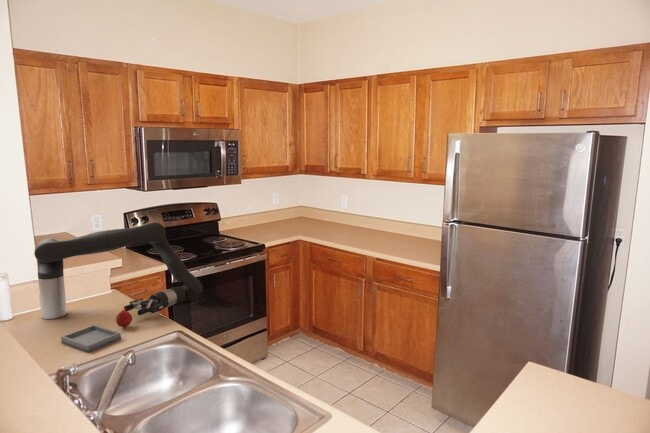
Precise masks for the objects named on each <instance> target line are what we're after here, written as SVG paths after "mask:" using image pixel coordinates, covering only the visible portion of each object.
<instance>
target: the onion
mask: <svg viewBox="0 0 650 433" xmlns="http://www.w3.org/2000/svg"><path fill="white" fill-rule="evenodd" d="M132 321H133V316H132V314H131V313H130V312H129V311H126V309H124V308H123V309H122V310H121V311H120V312H119V313H118V314H117V315H116V317H115V322H116V325H117V326H118V327H121V328H122V329H126V328H127V327H129V325H131V323H132Z"/></svg>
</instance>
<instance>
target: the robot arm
mask: <svg viewBox="0 0 650 433" xmlns="http://www.w3.org/2000/svg"><path fill="white" fill-rule="evenodd" d="M144 243H149V244H150V245H151V246H152V247H153V248H154V249H155V251H156V252H157V253H158V255H159V256H160V257H161V259H162V261H163V262H164V264H165V266H166V267H167V269H168V271H169V272H170V274H171V275H172V276H173V279H174V280H175V282H179V283H180V282H182V283H184V284H183V285H180V286H175V287H172V288H168V289H164V290H161V291H158V292H155V293H152V294H151V295H149V298H146V299H143V298H137V299H134V300H131V301H129V304H127V305H124V306H123V309H126V311H127V312H129V311H131V310H135V309H137V315H138V316H142V315H145V314H155V313H157V312H160V311H162V310H164V309H167V308H169V307H171V306H174V305H176V304H178V303H181V302H182V301H186V300H189V299H192V298H194V297H196V296H197V295H200V294H201V293H202V291H203V285H202V283H201V281H200V280H199V279H198V278H197V277H196V276H195V275H194V274H193V273H192V272H190V271H189V269H188V268H187V266H186V265H185V263H184V262H183V261H182V259H181V258H180V256H179V255H178V254H177V253H176V252H175V250H174V249H173V248H172V246H171V245H170V243H169V241H168V239H167V237H166V228H165V226H163V225H162V224H161V223H159V222H149V223H147V224H142V225H138V226H136V227H129V228H128V227H127V228H115V229H108V230H107V229H106V230H100V231H95V232H90V233H88V234H85V235H82V236H79V237H76V238H75V237H74V238H71V239H66V240H57V239H55V238H52V237H51V238H44V239H42V240H40V241H39V242H38V244H37V245H36V247H35V248H34V253H33V254H34V257H35V259H36V260H37V279H38V280H37V281H38V290H39V295H38V296H39V304H40V316H41V318H42V319H44V320H52V319H53V320H55V319H58V318H62V317H65V316H66V315H67V314H68V310H67V299H66V288H65V277H64V259H68V258H72V257H78V256H87V255H93V254H100V253H106V252H112V251H116V250H119V249H122V248H123V249H124V248H125V247H130V246H132V245H137V244H144Z"/></svg>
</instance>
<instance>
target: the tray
mask: <svg viewBox="0 0 650 433" xmlns="http://www.w3.org/2000/svg"><path fill="white" fill-rule="evenodd" d="M121 339H122V335H121V332H119V331H116V330H112V329H109V328H106V327H104V326H103V327H102V326H100V325H96V324H92V325H89V326H86V327H84V328H81V329H78V330H76V331H74V332H73V331H72V332H70V333H67V334H64V335H62V336H61V337H60V343H61V344H62V345H64V346H69V347H71V348H73V349H77V350H79V351H83V352H84V353H88V354H89V353H92V352H94V351H96V350H98V349H102V348H104V347H106V346H108V345H111V344H113V343H115V342H117V341H120V340H121Z"/></svg>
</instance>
